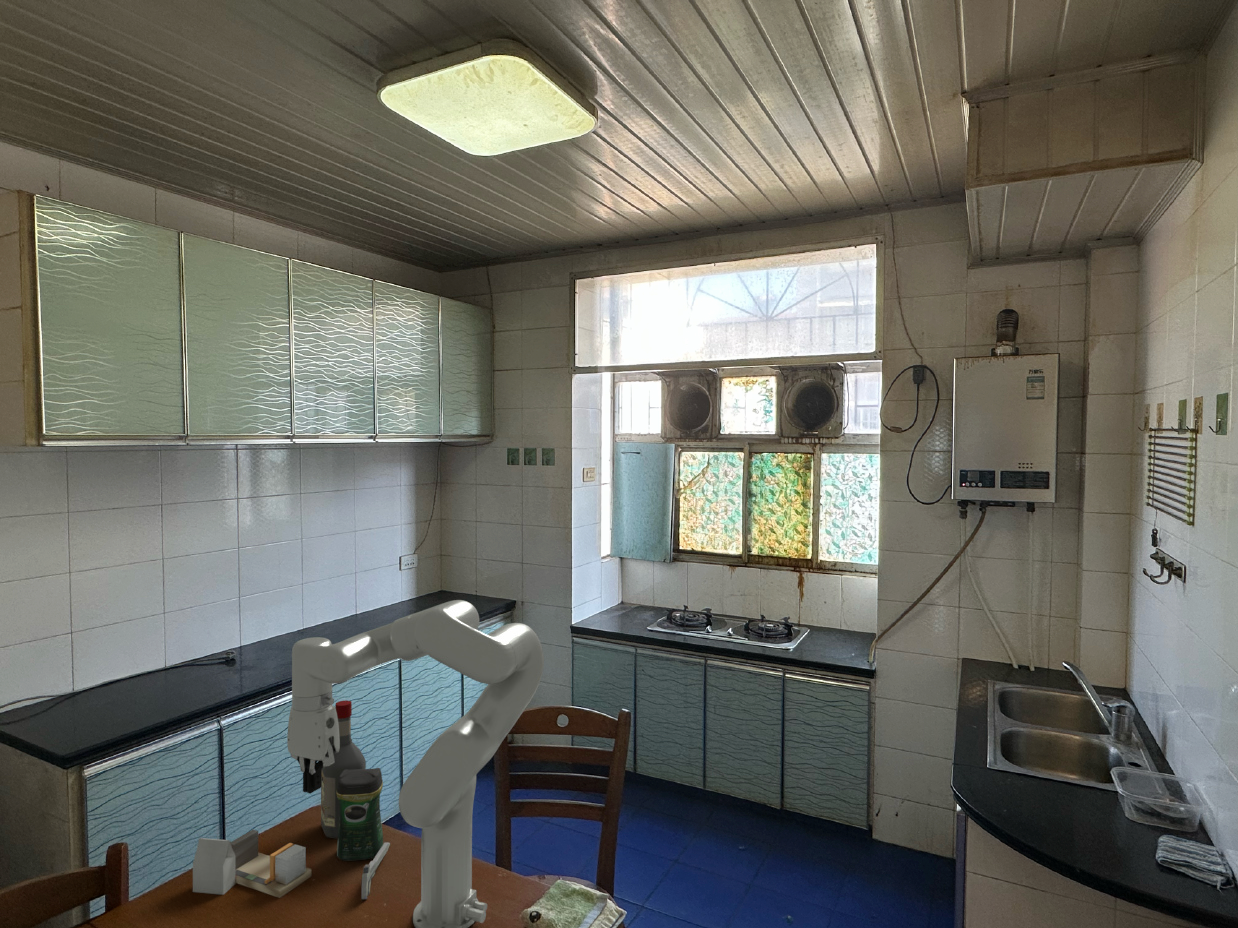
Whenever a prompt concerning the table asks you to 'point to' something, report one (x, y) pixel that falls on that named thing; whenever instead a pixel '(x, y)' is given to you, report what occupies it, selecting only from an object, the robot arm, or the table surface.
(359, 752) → the liquor
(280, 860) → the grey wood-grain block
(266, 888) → the board
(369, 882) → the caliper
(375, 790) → the coffee jar
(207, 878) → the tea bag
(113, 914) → the table surface
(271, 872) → the orange rectangular slab
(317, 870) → the table surface
